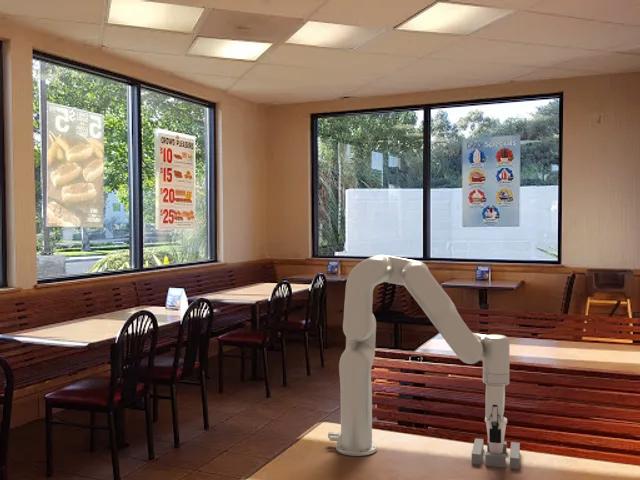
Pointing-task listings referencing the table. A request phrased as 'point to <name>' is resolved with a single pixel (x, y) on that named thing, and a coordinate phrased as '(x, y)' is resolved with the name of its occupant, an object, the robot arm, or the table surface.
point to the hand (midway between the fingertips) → (495, 437)
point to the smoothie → (499, 446)
